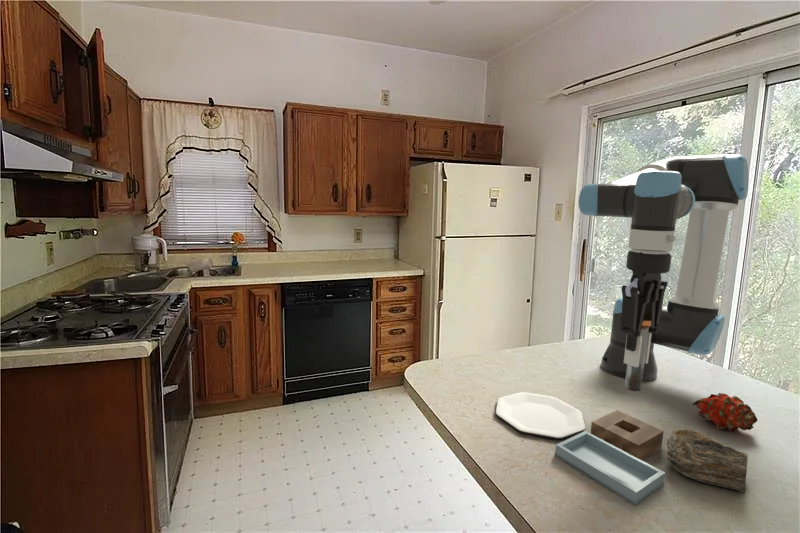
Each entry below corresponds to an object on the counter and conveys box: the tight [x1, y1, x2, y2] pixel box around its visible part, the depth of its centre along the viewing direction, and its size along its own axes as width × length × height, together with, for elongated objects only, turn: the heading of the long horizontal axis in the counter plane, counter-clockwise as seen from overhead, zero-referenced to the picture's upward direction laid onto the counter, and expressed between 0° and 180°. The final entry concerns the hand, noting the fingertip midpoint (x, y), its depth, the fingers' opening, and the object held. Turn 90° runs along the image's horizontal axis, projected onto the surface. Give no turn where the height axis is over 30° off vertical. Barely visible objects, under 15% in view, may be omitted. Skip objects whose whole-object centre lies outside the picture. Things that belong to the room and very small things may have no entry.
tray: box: [554, 430, 666, 506], centre depth 80 cm, size 16×10×2 cm, turn 33°
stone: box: [666, 428, 749, 493], centre depth 79 cm, size 14×10×10 cm
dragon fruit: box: [692, 392, 758, 432], centre depth 97 cm, size 8×8×12 cm
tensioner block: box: [589, 410, 665, 461], centre depth 89 cm, size 10×10×4 cm
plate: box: [495, 391, 586, 440], centre depth 99 cm, size 20×20×2 cm
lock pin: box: [624, 318, 651, 392], centre depth 86 cm, size 4×4×15 cm
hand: (635, 362), depth 86 cm, fingers closed on lock pin, 3 cm apart
